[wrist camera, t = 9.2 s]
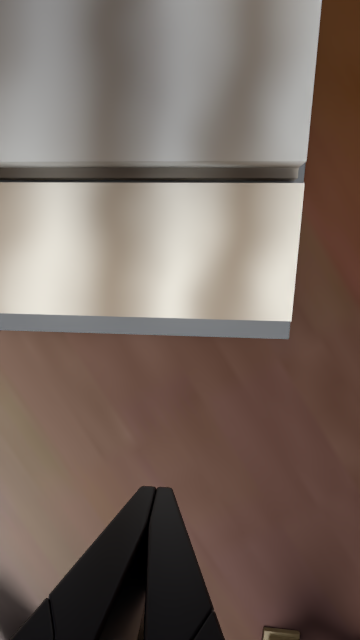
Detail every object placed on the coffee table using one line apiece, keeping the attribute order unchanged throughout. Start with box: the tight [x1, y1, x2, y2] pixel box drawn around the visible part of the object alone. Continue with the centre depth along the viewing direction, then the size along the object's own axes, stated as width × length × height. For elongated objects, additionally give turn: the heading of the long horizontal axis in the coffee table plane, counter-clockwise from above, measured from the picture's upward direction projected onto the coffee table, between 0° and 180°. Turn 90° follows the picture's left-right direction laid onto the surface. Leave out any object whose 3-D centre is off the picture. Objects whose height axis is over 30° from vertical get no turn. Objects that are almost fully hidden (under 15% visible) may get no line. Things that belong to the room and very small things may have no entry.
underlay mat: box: [0, 163, 305, 339], centre depth 18 cm, size 19×17×1 cm
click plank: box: [0, 182, 305, 321], centre depth 17 cm, size 18×7×2 cm, turn 89°
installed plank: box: [0, 0, 322, 181], centre depth 16 cm, size 18×8×2 cm, turn 89°
